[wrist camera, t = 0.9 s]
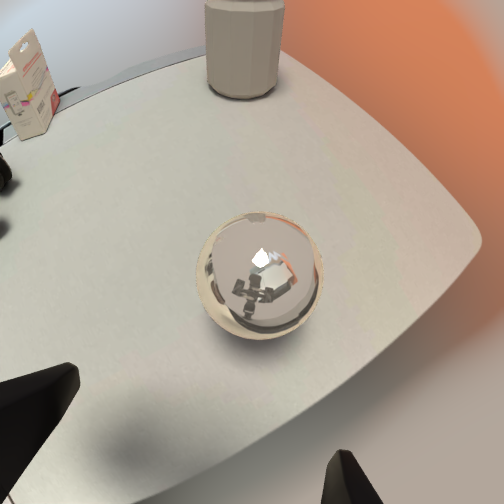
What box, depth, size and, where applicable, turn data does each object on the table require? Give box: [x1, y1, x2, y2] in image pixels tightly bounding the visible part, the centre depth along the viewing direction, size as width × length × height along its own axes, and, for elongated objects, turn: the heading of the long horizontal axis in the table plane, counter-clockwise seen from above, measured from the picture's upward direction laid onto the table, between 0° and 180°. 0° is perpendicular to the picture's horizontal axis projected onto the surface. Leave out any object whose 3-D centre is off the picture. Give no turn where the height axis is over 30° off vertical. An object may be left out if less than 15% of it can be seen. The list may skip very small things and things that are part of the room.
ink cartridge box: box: [0, 29, 60, 141], centre depth 30 cm, size 9×5×15 cm, turn 9°
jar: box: [205, 0, 285, 99], centre depth 33 cm, size 10×10×18 cm
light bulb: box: [196, 211, 324, 340], centre depth 19 cm, size 7×7×12 cm
